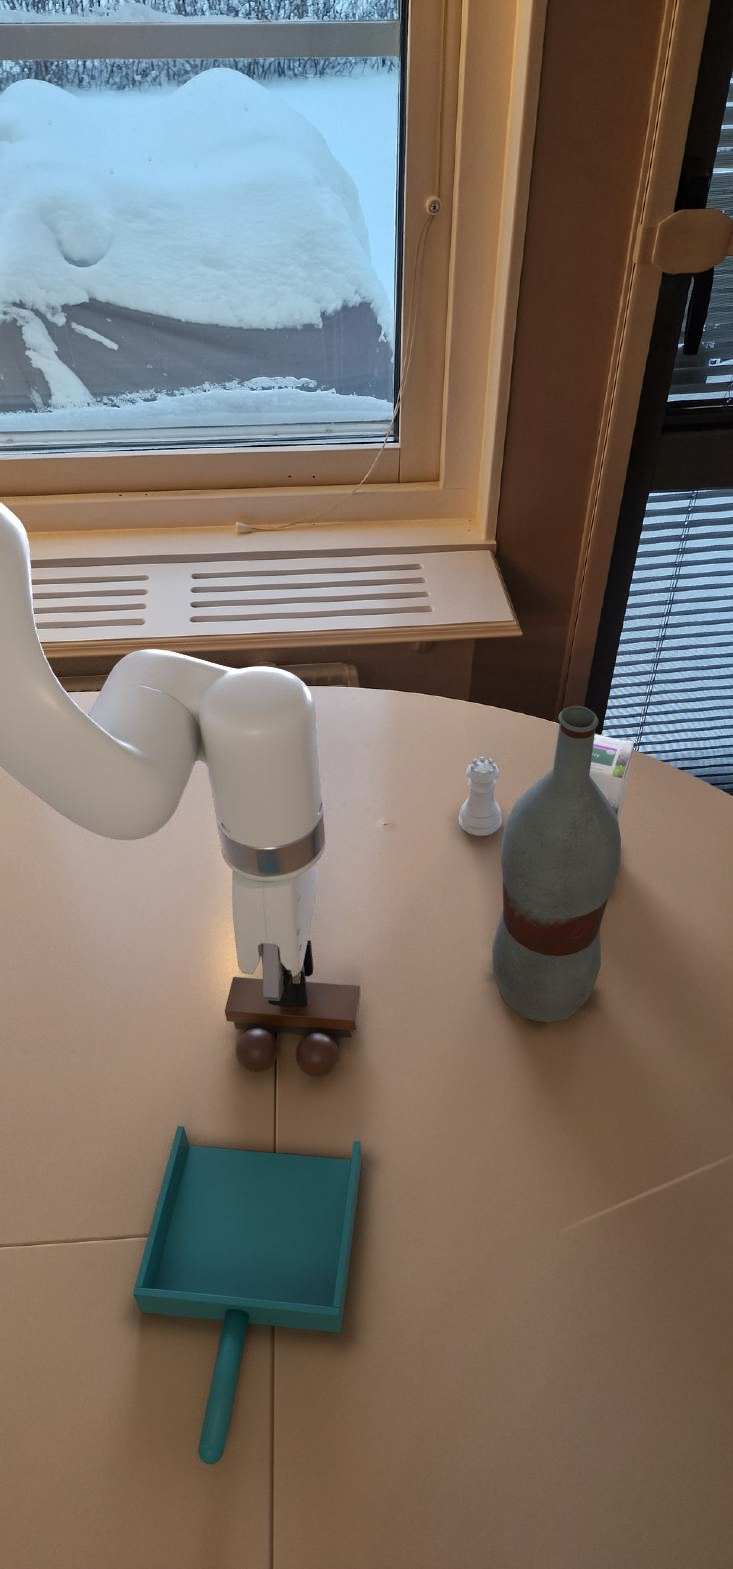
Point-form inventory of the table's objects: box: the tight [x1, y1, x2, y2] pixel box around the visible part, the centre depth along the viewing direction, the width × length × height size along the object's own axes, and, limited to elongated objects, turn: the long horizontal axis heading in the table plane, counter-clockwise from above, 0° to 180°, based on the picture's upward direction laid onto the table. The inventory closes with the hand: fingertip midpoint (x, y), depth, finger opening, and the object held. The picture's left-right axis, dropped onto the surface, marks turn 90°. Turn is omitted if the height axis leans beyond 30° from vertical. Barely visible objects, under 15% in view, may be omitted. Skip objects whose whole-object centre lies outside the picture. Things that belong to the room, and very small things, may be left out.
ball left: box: [235, 1028, 279, 1073], centre depth 85 cm, size 4×4×4 cm
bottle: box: [491, 705, 622, 1023], centre depth 81 cm, size 9×9×30 cm
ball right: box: [295, 1033, 340, 1078], centre depth 85 cm, size 4×4×4 cm
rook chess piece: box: [457, 755, 503, 837], centre depth 104 cm, size 4×4×8 cm
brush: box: [224, 962, 362, 1038], centre depth 86 cm, size 11×4×10 cm, turn 84°
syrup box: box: [589, 733, 635, 824], centre depth 97 cm, size 6×6×14 cm
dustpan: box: [132, 1125, 363, 1466], centre depth 71 cm, size 21×14×3 cm, turn 174°
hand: (291, 986), depth 86 cm, fingers closed on brush, 2 cm apart
